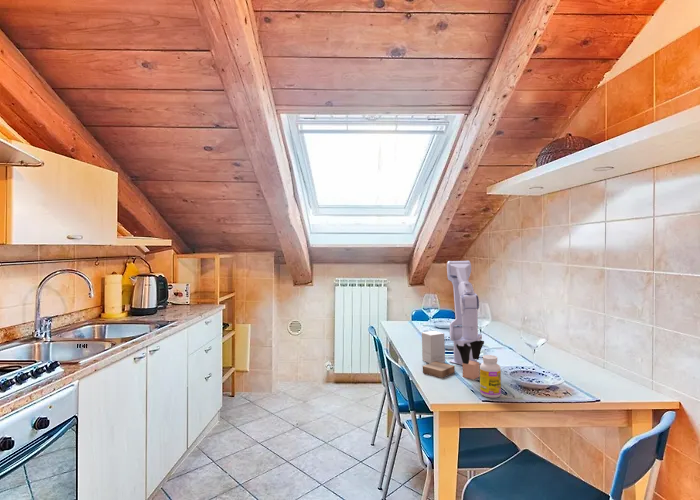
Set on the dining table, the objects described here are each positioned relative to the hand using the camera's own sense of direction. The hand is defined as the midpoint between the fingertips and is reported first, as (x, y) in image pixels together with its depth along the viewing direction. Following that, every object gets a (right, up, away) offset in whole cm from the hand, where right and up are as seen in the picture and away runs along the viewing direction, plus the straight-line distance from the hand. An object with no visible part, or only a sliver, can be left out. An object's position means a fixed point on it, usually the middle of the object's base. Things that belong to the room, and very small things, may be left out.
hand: (470, 361), depth 149 cm
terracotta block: (0, -6, 0) cm, 6 cm away
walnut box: (-11, -7, +6) cm, 14 cm away
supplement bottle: (+1, -6, -18) cm, 19 cm away
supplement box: (-10, -6, +21) cm, 24 cm away
